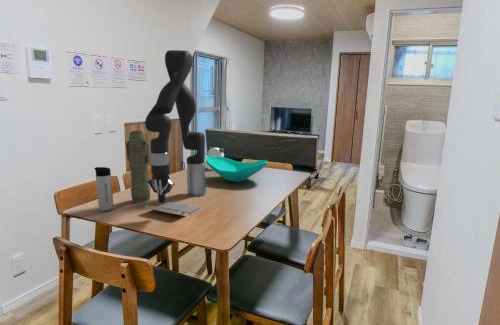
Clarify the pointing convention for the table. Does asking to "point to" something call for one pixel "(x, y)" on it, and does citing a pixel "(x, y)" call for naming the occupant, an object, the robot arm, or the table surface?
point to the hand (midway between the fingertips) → (161, 202)
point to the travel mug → (104, 189)
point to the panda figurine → (215, 153)
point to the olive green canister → (138, 166)
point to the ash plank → (167, 210)
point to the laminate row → (179, 207)
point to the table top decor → (234, 168)
